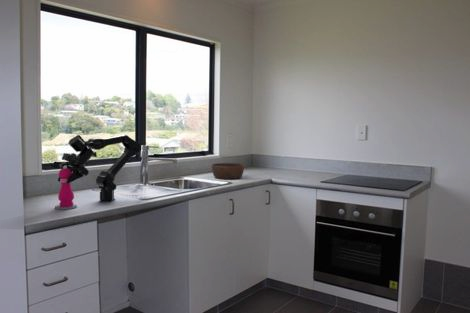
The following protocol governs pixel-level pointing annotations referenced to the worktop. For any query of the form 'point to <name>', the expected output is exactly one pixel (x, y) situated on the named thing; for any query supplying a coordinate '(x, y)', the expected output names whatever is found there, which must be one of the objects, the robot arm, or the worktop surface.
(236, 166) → the wooden bowl
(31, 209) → the worktop surface
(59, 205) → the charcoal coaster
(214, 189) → the worktop surface
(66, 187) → the pepper mill
